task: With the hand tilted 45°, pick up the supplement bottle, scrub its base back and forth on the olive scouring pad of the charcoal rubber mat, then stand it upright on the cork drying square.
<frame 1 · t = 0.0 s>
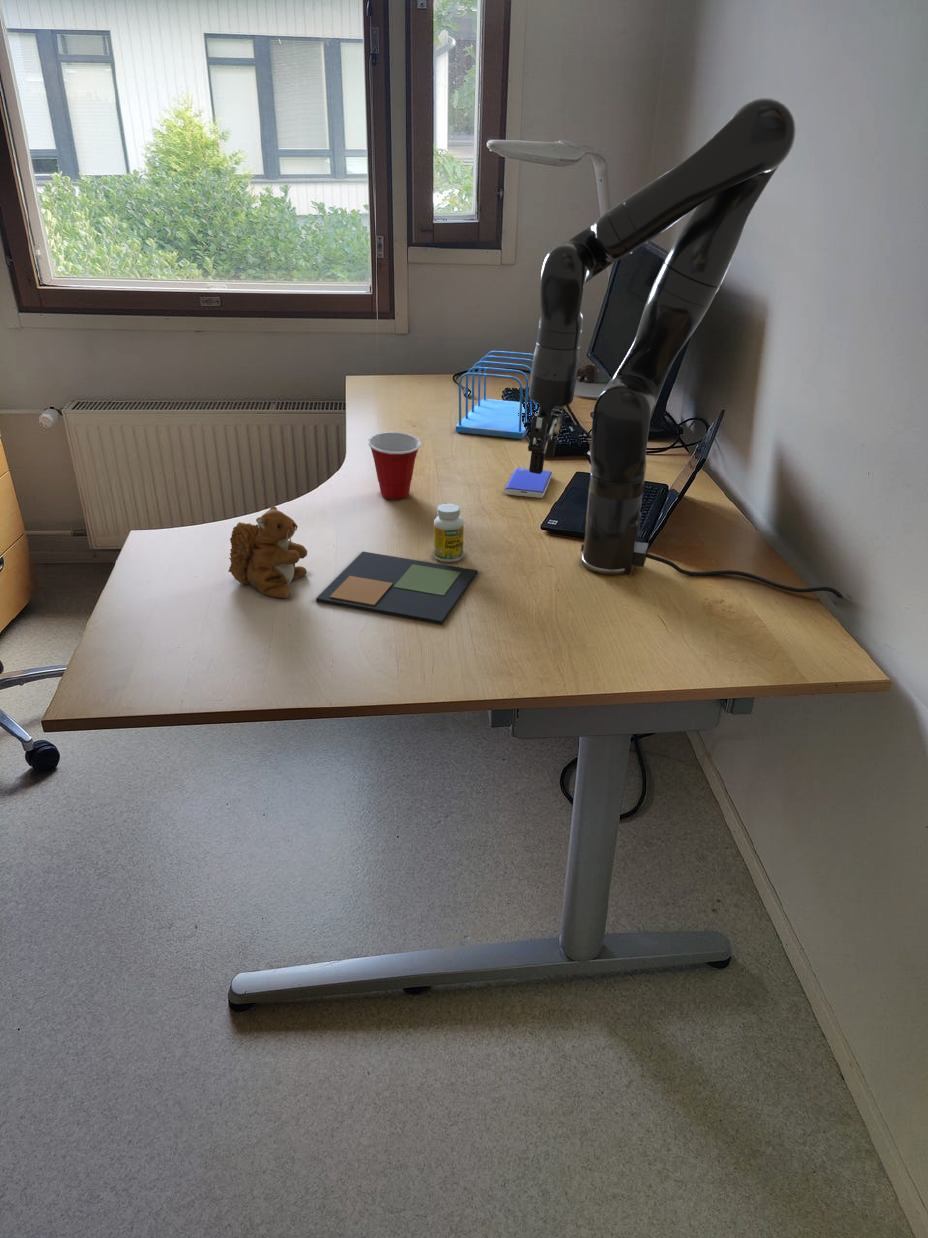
hand: (541, 464, 155), 17 cm above the table, tool pointing down, fingers open, 8 cm apart
stuffed squirrel: (267, 582, 152), on the table
plastic cup: (395, 495, 187), on the table
hard drive: (528, 486, 193), on the table
file sorter: (501, 422, 232), on the table
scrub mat: (399, 586, 151), on the table
supplement bottle: (448, 557, 162), on the table
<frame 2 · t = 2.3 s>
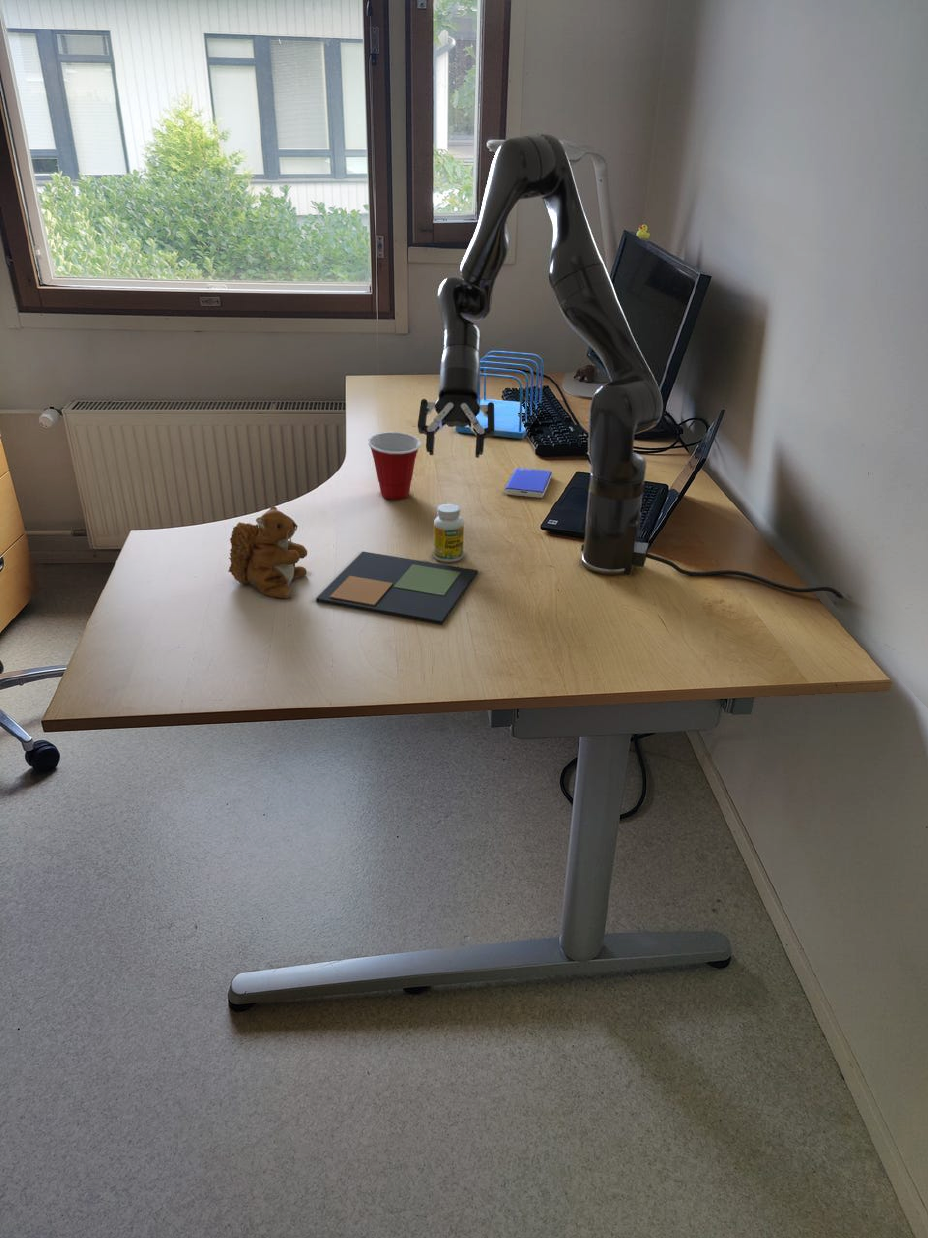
hand: (454, 454, 164), 15 cm above the table, tool tilted 45°, fingers open, 8 cm apart
nothing on the table moved.
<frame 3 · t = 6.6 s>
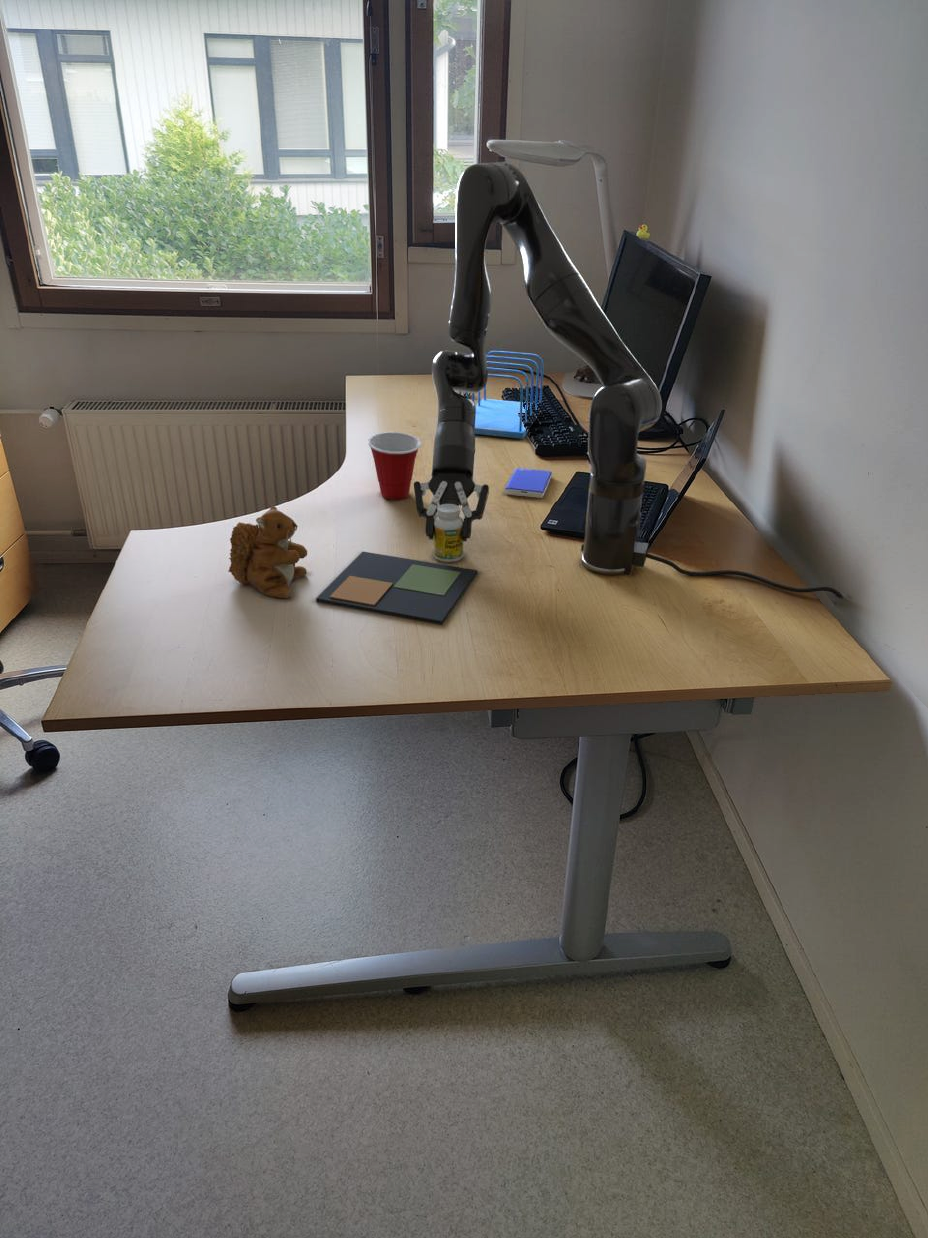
hand: (447, 538, 158), 4 cm above the table, tool tilted 45°, fingers closed on supplement bottle, 5 cm apart
supplement bottle: (448, 557, 162), on the table, touching gripper
everything else where it was.
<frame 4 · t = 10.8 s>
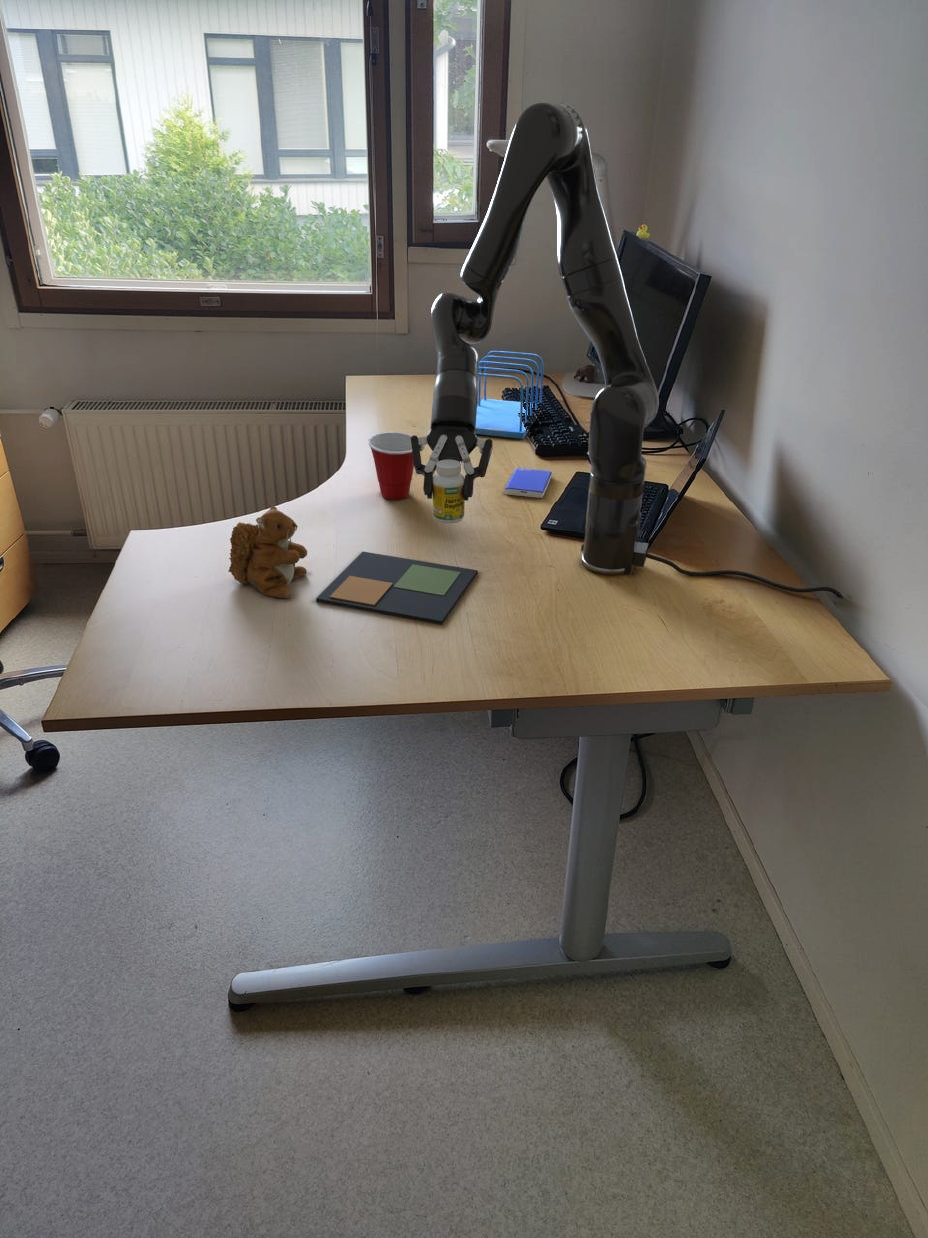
hand: (447, 497, 145), 16 cm above the table, tool tilted 45°, fingers closed on supplement bottle, 5 cm apart
supplement bottle: (448, 518, 149), point 11 cm above the table, touching gripper
everything else where it was.
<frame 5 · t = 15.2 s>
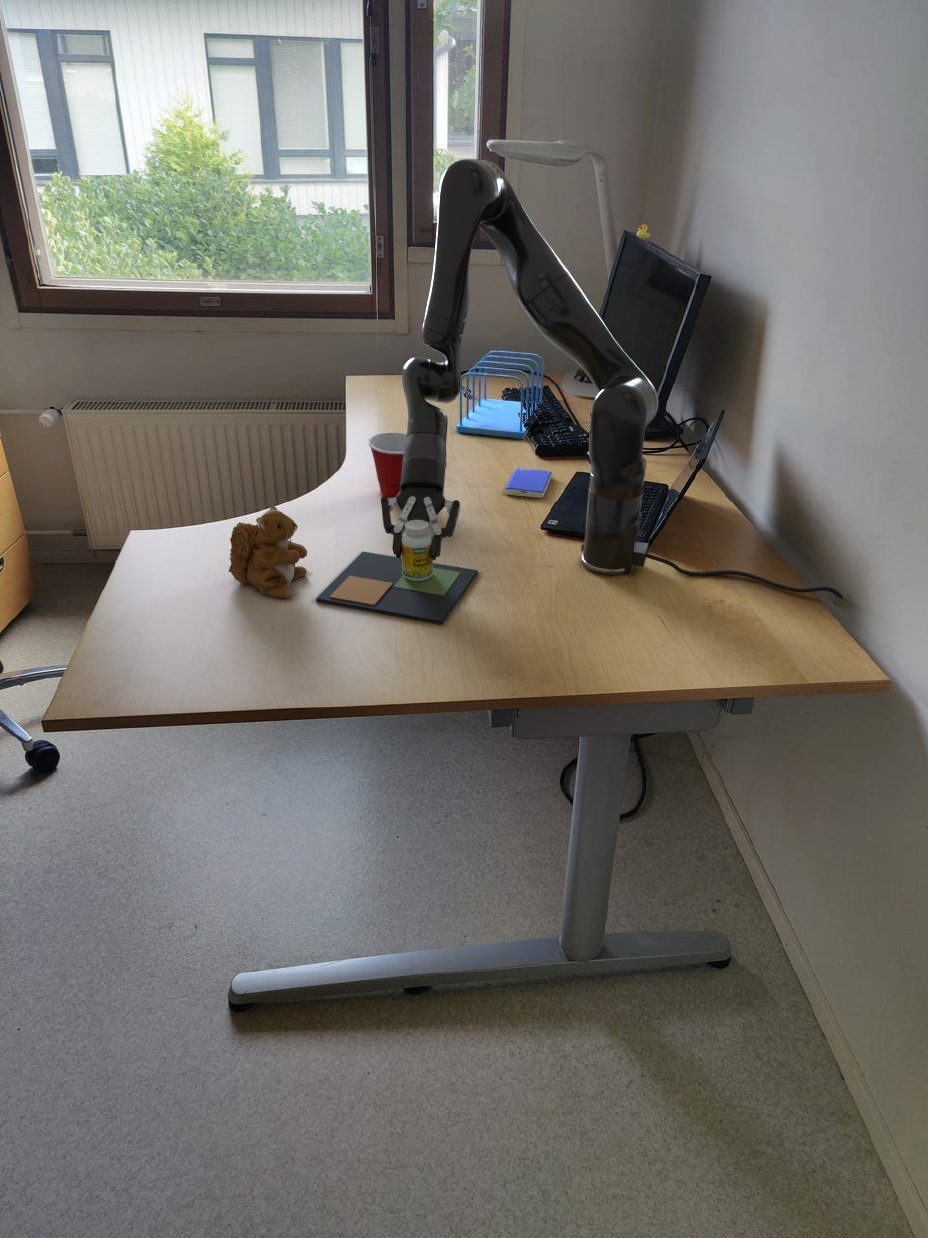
hand: (416, 557, 150), 5 cm above the table, tool tilted 45°, fingers closed on supplement bottle, 5 cm apart
supplement bottle: (417, 575, 154), point 1 cm above the table, touching gripper
everything else where it was.
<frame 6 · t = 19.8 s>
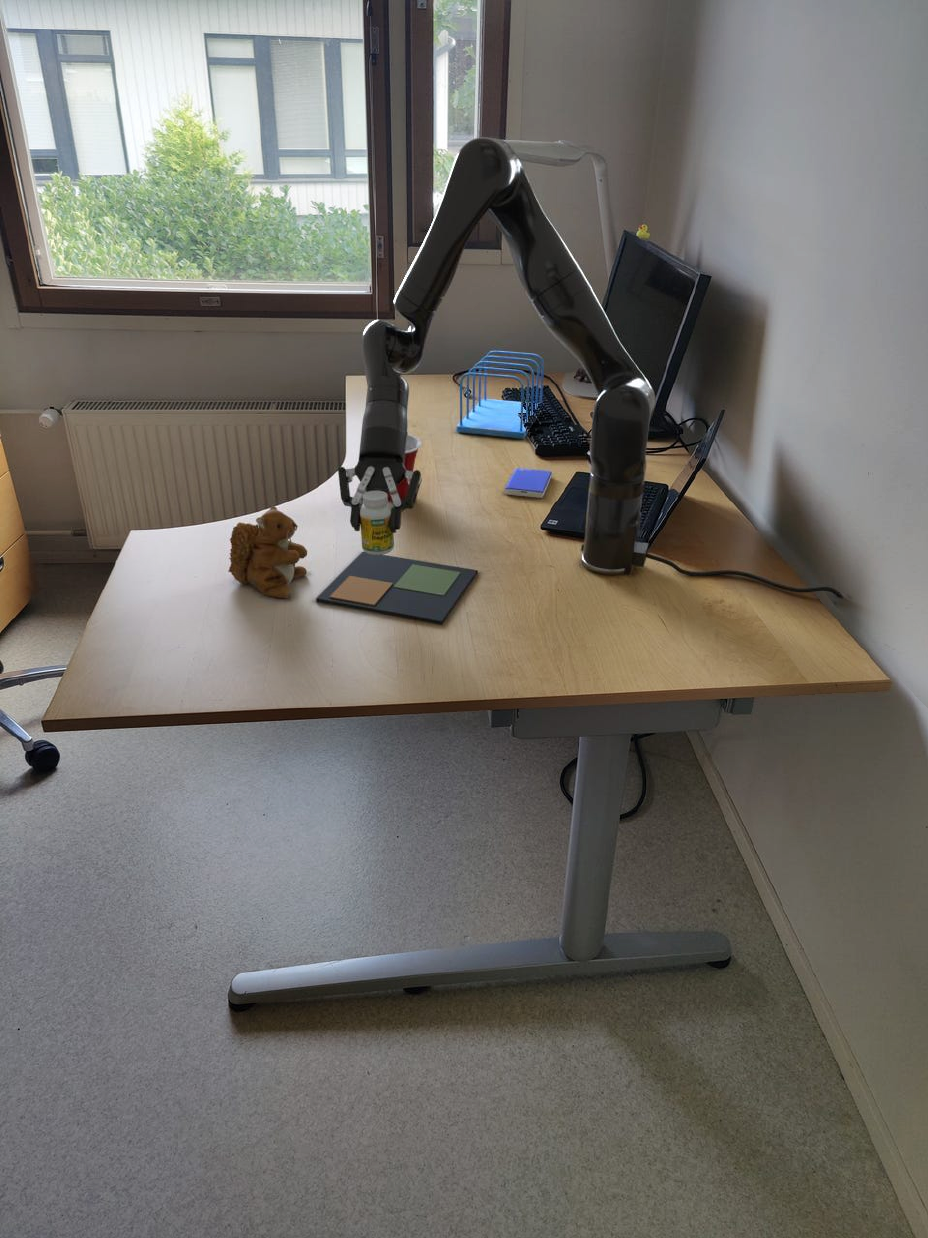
hand: (374, 529, 144), 12 cm above the table, tool tilted 45°, fingers closed on supplement bottle, 5 cm apart
supplement bottle: (378, 549, 147), point 7 cm above the table, touching gripper
everything else where it was.
when the fingers open (5 cm above the table, at t = 23.9 s): supplement bottle stays where it is, resting on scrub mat.
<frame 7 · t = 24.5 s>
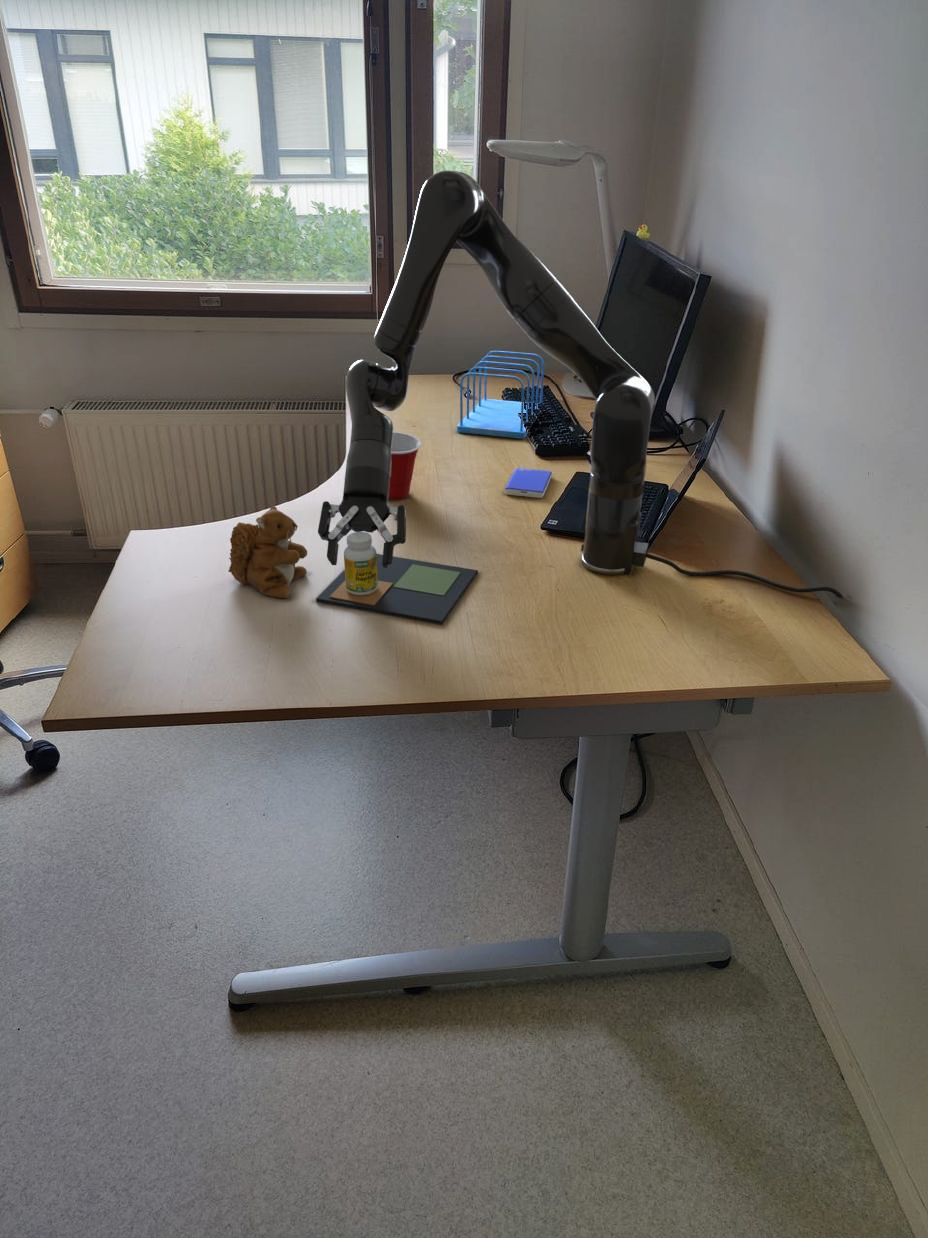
hand: (359, 565, 145), 6 cm above the table, tool tilted 45°, fingers open, 8 cm apart
supplement bottle: (361, 589, 149), point 1 cm above the table, touching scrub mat
everything else where it was.
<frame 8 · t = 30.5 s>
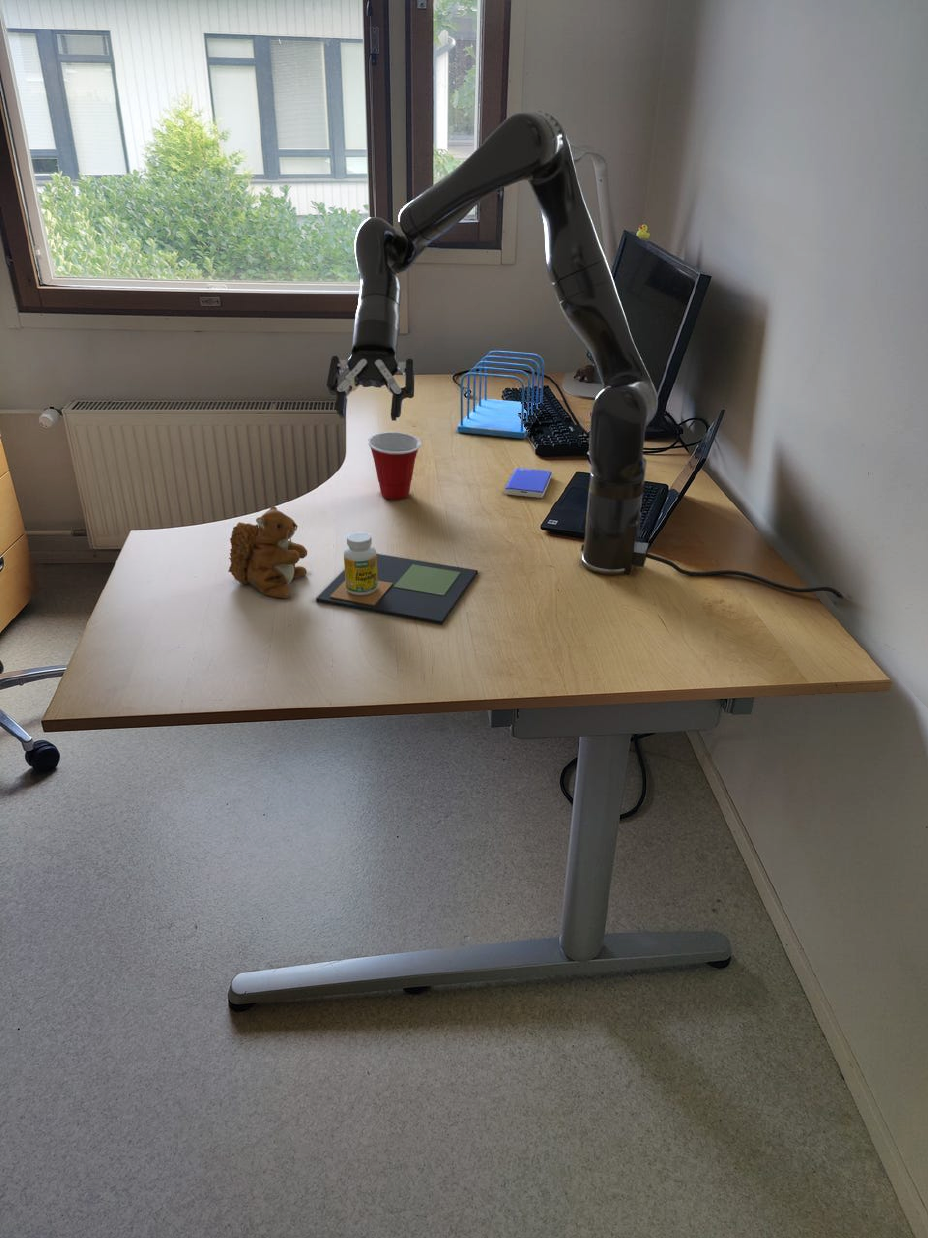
hand: (367, 417, 146), 27 cm above the table, tool tilted 45°, fingers open, 8 cm apart
nothing on the table moved.
at the end: supplement bottle 0.3 cm from the target spot on the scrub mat, point 0.6 cm above the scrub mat's base; supplement bottle tilted 0°; the gripper is holding nothing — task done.
